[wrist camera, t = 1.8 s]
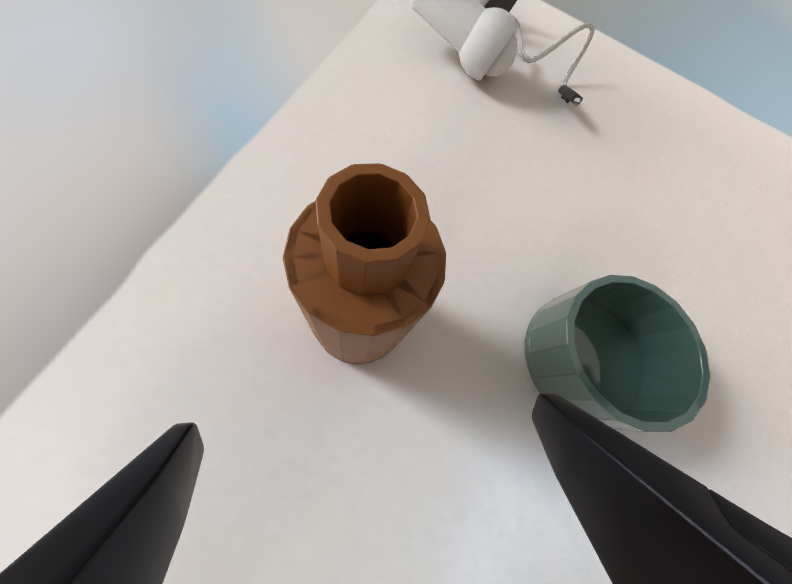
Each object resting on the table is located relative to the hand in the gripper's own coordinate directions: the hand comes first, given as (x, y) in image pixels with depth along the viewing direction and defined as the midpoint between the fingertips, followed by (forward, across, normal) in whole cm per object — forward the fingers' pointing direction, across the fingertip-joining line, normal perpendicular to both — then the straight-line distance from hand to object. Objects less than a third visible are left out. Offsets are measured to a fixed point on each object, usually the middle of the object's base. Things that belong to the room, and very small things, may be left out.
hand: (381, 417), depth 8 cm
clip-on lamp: (+31, -15, -14) cm, 37 cm away
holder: (+10, -16, +7) cm, 20 cm away
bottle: (+12, 0, +4) cm, 13 cm away
